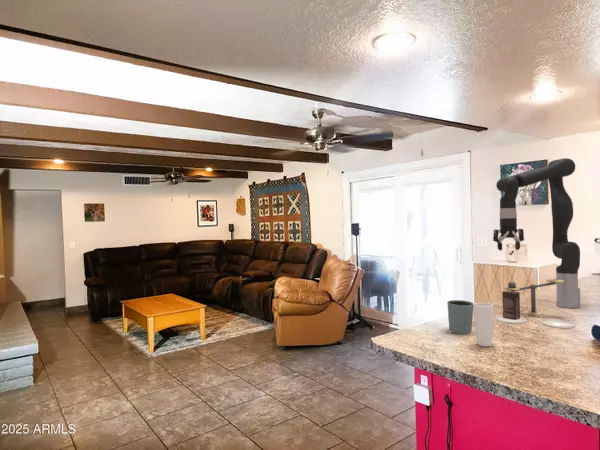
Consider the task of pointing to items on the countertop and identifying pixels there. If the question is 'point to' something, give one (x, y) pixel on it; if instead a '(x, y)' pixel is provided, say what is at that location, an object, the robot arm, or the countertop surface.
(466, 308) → the green cup
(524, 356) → the countertop surface
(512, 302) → the box
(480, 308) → the drinking glass
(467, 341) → the countertop surface
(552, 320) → the dish high side
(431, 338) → the countertop surface
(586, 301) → the countertop surface
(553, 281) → the balance
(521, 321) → the dish low side
